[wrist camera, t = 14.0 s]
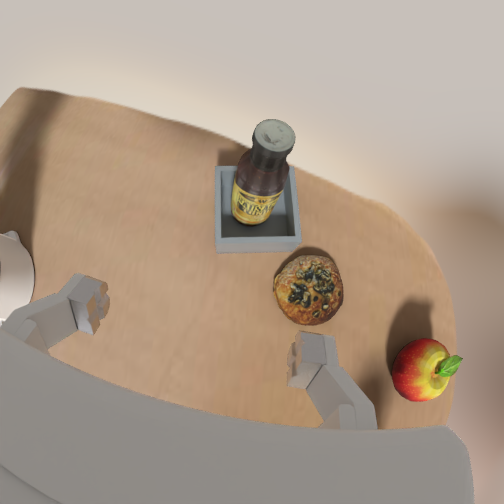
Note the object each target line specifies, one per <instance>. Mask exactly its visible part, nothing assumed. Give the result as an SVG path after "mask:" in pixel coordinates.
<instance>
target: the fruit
mask: <svg viewBox="0 0 504 504" xmlns="http://www.w3.org/2000/svg"><path fill="white" fill-rule="evenodd" d="M462 359H463V358H461V357H459V356H457V355H454V356H451V357H450V354H449V353H448V351H447V349H446V348H445V346H444V345H442V344H441V343H440V342H438V341H436V340H433V339H427V338H422V339H418V340H415V341H412V342H411V343H409V344H408V345H406V346H405V347H404V348H403V349H402V350H401V351H400V352H399V353H398V355H397V357H396V359H395V361H394V364H393V368H392V380H393V384H394V387H395V389H396V390H397V391H398V393H399V394H400V395H401V396H402V397H404V398H406V399H408V400H410V401H419V402H421V401H427V400H430V399H433V398H436V397H438V396H439V395H440V394H441V393H442V392H443V391H444V389H445V387H446V386H447V384H448V381H449V379H450V376H452V375H453V374H454V373H455V372H456V371H457V369H458V367H459V365H460V363H461V361H462Z"/></svg>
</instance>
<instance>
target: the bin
mask: <svg viewBox="0 0 504 504" xmlns="http://www.w3.org/2000/svg"><path fill="white" fill-rule="evenodd" d="M237 167H238V166H215V245H216V252H217V254H221V253H261V252H292V251H293V250H294V249H295V248H296V247H297V246H298V245H299V244H300V243H301V242H302V239H301V228H300V218H299V208H298V198H297V189H296V180H295V172H294V167H292V166H289V167H290V169H289V173H288V177H287V180H286V184H285V187H284V189H283V191H282V193H281V195H280V197H279V199H278V200H277V202H276V204H275V206H274V208H273V210H272V212H271V214H270V216H269V217H268V218H267V219H266V221H265V222H263V223H261V224H259V225H257V226H253V227H251V226H245V225H242V224H240V223H238V222H237V221H236V220H235V218H234V217H233V215H232V212H231V198H232V191H233V185H234V179H235V174H236V171H237Z"/></svg>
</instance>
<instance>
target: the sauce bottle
mask: <svg viewBox="0 0 504 504" xmlns="http://www.w3.org/2000/svg"><path fill="white" fill-rule="evenodd" d="M252 141H253V146H252V148H251V149H249V150H248V151H247V152H246V153H245V154H243V156H242V157H241V159H240V161H239V163H238V167H237V171H236V174H235V179H234V185H233V191H232V198H231V212H232V215H233V217H234V218H235V220H236V221H237V222H238V223H240V224H242V225H245V226H251V227H253V226H257V225H259V224H261V223H263V222H265V221H266V219H267V218H268V217H269V216H270V214H271V212H272V210H273V208H274V206H275V204H276V202H277V200H278V199H279V197H280V195H281V193H282V191H283V189H284V187H285V184H286V180H287V177H288V173H289V169H290V167H289V165H288V163H287V162H286V157H287V155H288V154H289V153H290V152H291V151H292V148H293V146H294V143H295V133H294V131H293V130H292V128H291V127H290V126H289V125H288V124H286V123H284V122H283V121H280V120H276V119H268V120H264V121H262V122H260V123H259V124H258V125H257V127H256V128H255V130H254V133H253V136H252Z"/></svg>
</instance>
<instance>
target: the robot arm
mask: <svg viewBox="0 0 504 504" xmlns="http://www.w3.org/2000/svg"><path fill="white" fill-rule="evenodd" d="M33 288H34V267H33V263H32V259H31V257H30V255H29V253H28V251H27V250H26V248H25V247H24V246H23V245H22V244H21V242H20V239H19V236H18V233H17V232H15V231H9V232H7V233H4V234H0V504H474V487H473V478H472V470H471V464H470V459H469V454H468V450H467V447H466V445H465V444H464V442H463V441H462V440H461V439H460V438H459V437H458V436H457V435H456V434H455V432H453V430H451V429H450V428H449V427H448V426H446V425H436V426H426V427H416V428H402V429H378V427H377V421H376V414H375V408H374V405H373V403H372V402H371V401H370V400H369V399H368V397H367V396H366V395H365V394H364V393H363V391H362V390H361V389H360V388H359V387H358V385H357V384H356V383H355V382H354V381H353V379H352V378H351V377H350V376H349V375H348V373H347V372H346V371H345V370H344V369H343V367H339V362H338V356H337V349H336V343H335V338H334V336H330V335H324V334H317V333H311V332H306V331H300V330H299V331H298V332H297V334H296V336H295V342H294V343H292V344H291V346H290V349H289V352H288V358H287V365H288V366H289V370H288V372H287V386H290V387H295V388H302V389H306V391H307V393H308V395H309V396H310V398H311V400H312V401H313V403H314V405H315V407H316V408H317V410H318V412H319V413H320V415H321V417H322V419H323V420H324V422H323V423H322V424H321V425H320V426H319V427H318V428H310V427H299V426H289V425H280V424H273V423H265V422H259V421H252V420H246V419H241V418H235V417H230V416H225V415H220V414H215V413H211V412H206V411H202V410H198V409H194V408H190V407H186V406H182V405H178V404H175V403H171V402H168V401H164V400H161V399H157V398H154V397H151V396H148V395H145V394H142V393H139V392H136V391H133V390H130V389H127V388H124V387H121V386H119V385H116V384H113V383H111V382H108V381H106V380H103V379H101V378H98V377H96V376H93V375H91V374H88V373H86V372H84V371H81V370H79V369H77V368H75V367H73V366H70V365H68V364H66V363H64V362H62V361H60V360H58V359H56V358H54V357H52V356H50V354H49V351H48V349H49V348H50V347H52V346H53V345H55V344H57V343H58V342H60V341H61V340H63V339H65V338H66V337H68V336H70V335H71V334H73V333H74V332H76V331H77V329H78V330H80V331H83V332H86V333H88V334H91V335H94V334H95V332H96V331H97V329H98V327H99V326H100V321H99V320H101V319H103V318H105V316H106V314H107V313H108V310H109V306H110V299H109V296H108V295H107V294H106V292H107V291H108V285H107V283H106V282H104V281H101V280H98V279H95V278H92V277H90V276H86V275H83V274H81V273H76V274H74V275H73V277H72V278H71V279H70V280H69V281H68V282H67V283H66V285H65V286H64V287H63V288H62V289H61V290H60V292H59V293H58V294H55V293H54V294H52V295H49V296H47V297H44V298H42V299H39V300H37V301H34V302H32V303H30V304H29V302H30V300H31V297H32V293H33Z"/></svg>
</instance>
